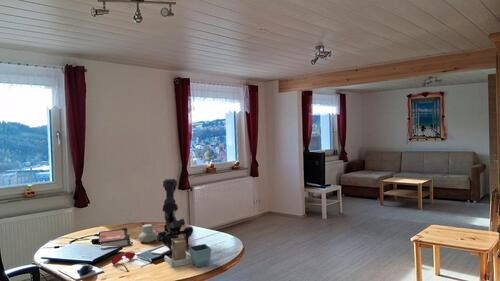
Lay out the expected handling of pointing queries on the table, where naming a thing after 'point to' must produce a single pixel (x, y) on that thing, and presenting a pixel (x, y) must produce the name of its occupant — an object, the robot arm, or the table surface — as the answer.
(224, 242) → the table surface
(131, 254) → the glasses
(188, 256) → the bay
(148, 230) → the air freshener
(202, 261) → the flower pot
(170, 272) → the table surface
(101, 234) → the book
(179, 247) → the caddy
